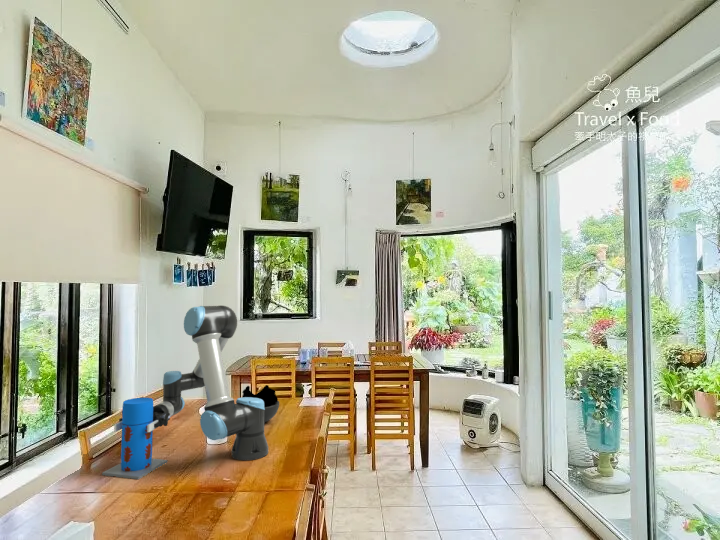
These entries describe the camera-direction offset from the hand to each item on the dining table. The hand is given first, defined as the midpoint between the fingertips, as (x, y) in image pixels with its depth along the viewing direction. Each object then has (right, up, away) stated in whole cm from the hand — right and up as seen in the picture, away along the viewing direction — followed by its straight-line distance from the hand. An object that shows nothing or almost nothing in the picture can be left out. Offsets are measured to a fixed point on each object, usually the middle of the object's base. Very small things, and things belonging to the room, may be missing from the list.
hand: (131, 428), depth 166 cm
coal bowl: (+35, -19, +61) cm, 73 cm away
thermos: (0, -16, +3) cm, 16 cm away
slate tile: (0, -17, +3) cm, 17 cm away
